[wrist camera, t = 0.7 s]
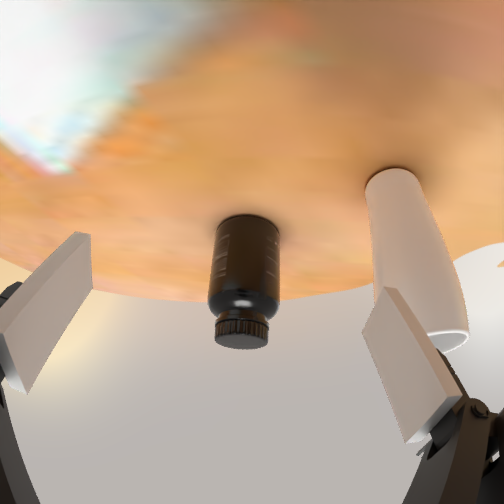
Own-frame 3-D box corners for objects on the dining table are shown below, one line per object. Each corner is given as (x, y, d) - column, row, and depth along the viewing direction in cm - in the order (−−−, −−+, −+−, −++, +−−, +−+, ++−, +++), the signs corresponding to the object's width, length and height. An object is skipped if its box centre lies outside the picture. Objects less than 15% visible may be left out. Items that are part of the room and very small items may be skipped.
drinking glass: (413, 148, 23) (470, 321, 15) (431, 196, 27) (471, 346, 19) (343, 176, 26) (366, 349, 18) (371, 218, 31) (392, 366, 23)
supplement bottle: (232, 255, 38) (221, 354, 32) (205, 220, 33) (186, 331, 26) (288, 246, 36) (287, 351, 29) (268, 207, 31) (263, 327, 24)
